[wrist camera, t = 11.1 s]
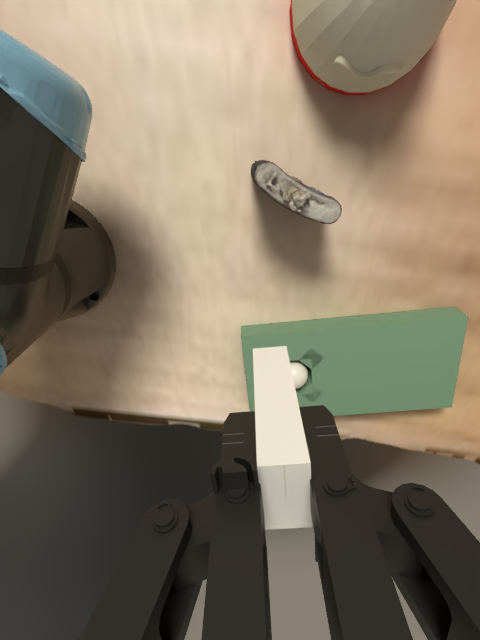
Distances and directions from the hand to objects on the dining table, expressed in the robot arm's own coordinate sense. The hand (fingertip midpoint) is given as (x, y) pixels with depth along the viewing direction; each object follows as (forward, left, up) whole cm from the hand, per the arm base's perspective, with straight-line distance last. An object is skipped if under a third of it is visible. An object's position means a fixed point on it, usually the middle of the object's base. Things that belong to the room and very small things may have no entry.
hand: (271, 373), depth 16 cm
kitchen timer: (+12, +20, -30) cm, 38 cm away
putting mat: (+11, -19, -29) cm, 37 cm away
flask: (+4, +5, -30) cm, 30 cm away
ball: (+3, -19, -27) cm, 34 cm away
